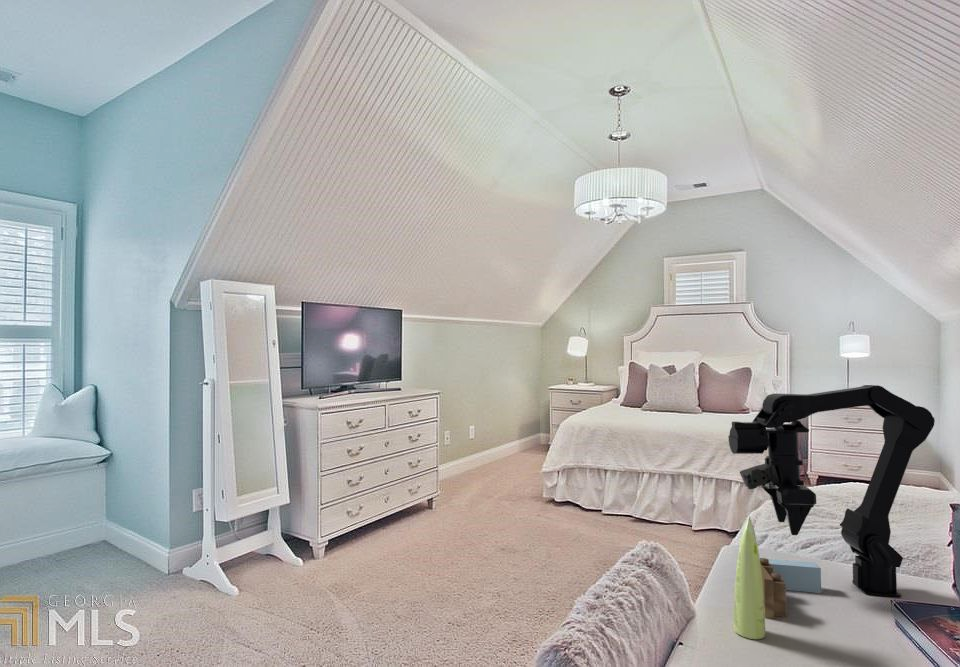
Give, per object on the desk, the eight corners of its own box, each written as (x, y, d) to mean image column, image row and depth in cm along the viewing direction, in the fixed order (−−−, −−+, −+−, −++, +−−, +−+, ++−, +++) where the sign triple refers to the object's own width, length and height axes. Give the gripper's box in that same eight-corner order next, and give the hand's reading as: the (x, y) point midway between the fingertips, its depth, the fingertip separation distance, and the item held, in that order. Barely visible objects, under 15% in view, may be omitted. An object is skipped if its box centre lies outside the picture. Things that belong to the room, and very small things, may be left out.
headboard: (767, 589, 114) (766, 554, 115) (788, 620, 101) (787, 581, 101) (746, 587, 115) (746, 553, 116) (765, 618, 102) (764, 579, 102)
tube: (775, 640, 93) (772, 522, 94) (749, 643, 92) (747, 524, 93) (751, 624, 99) (749, 513, 100) (726, 627, 98) (725, 515, 99)
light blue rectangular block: (815, 586, 116) (814, 561, 116) (821, 593, 113) (820, 567, 113) (747, 580, 119) (747, 556, 119) (751, 586, 116) (751, 561, 116)
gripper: (733, 446, 128) (736, 514, 128) (752, 460, 110) (756, 540, 110) (786, 446, 126) (790, 516, 125) (815, 461, 108) (819, 543, 107)
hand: (787, 528), depth 117 cm, fingers open, 9 cm apart
